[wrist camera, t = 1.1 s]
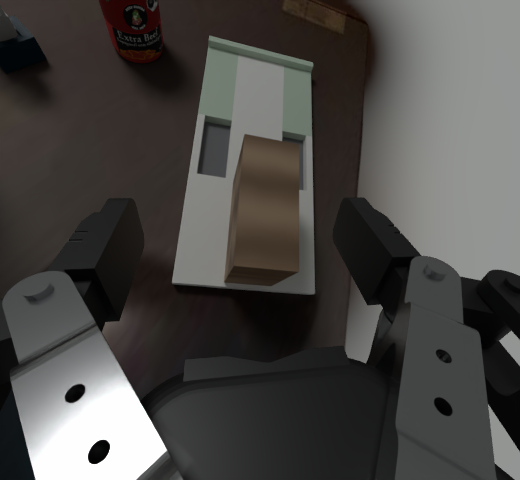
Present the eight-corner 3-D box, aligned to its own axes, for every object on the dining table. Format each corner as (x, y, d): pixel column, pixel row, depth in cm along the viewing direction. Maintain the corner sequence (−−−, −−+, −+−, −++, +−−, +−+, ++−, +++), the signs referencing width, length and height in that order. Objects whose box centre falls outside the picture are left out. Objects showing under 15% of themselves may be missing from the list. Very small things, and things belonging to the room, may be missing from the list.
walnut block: (271, 286, 33) (299, 271, 24) (223, 282, 32) (233, 265, 23) (274, 188, 37) (299, 144, 28) (233, 182, 36) (244, 133, 27)
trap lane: (310, 294, 35) (318, 292, 33) (173, 284, 32) (171, 281, 30) (307, 75, 48) (313, 62, 46) (208, 50, 45) (209, 35, 42)
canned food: (119, 67, 40) (92, -22, 30) (107, 28, 41) (76, -69, 31) (170, 62, 42) (161, -21, 32) (156, 26, 44) (143, -65, 34)
